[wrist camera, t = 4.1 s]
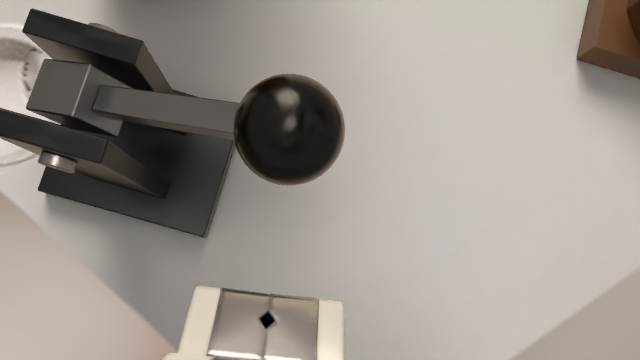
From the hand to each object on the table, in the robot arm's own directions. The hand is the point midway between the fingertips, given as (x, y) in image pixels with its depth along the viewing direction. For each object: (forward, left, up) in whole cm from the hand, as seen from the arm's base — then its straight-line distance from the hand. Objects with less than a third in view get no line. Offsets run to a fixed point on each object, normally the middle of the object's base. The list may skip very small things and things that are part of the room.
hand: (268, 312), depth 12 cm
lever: (+4, -5, -10) cm, 12 cm away
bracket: (+9, -5, -23) cm, 25 cm away
